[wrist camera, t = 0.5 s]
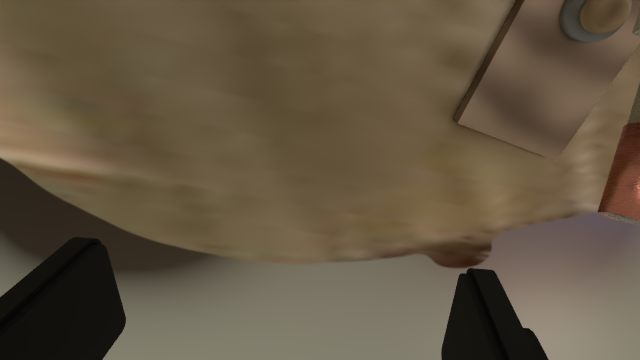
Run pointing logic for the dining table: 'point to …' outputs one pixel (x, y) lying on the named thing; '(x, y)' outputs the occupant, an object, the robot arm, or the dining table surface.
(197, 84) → the dining table surface
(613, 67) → the base
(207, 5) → the dining table surface
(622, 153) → the lever
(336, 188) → the dining table surface
